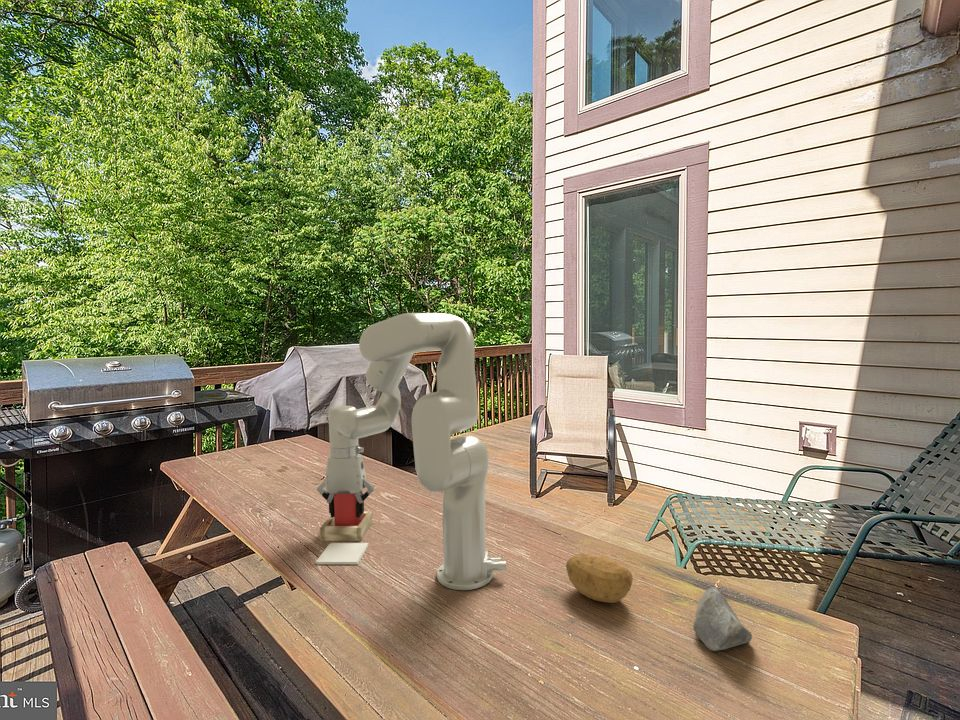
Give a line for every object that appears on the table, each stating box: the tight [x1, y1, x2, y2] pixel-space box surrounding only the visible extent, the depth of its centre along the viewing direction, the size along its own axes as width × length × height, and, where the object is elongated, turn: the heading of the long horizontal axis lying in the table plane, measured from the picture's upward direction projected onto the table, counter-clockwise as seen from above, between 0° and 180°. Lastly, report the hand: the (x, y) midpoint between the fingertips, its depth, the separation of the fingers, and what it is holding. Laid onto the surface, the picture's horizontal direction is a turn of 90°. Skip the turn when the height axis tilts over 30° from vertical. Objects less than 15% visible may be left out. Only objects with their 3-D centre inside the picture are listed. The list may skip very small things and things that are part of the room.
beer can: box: [334, 492, 359, 526], centre depth 132 cm, size 7×7×12 cm
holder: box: [319, 511, 373, 542], centre depth 133 cm, size 11×11×4 cm
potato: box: [565, 552, 634, 604], centre depth 99 cm, size 10×14×8 cm
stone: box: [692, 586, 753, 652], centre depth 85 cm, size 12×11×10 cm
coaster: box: [315, 542, 369, 565], centre depth 120 cm, size 10×10×1 cm
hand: (346, 515), depth 132 cm, fingers closed on beer can, 6 cm apart
